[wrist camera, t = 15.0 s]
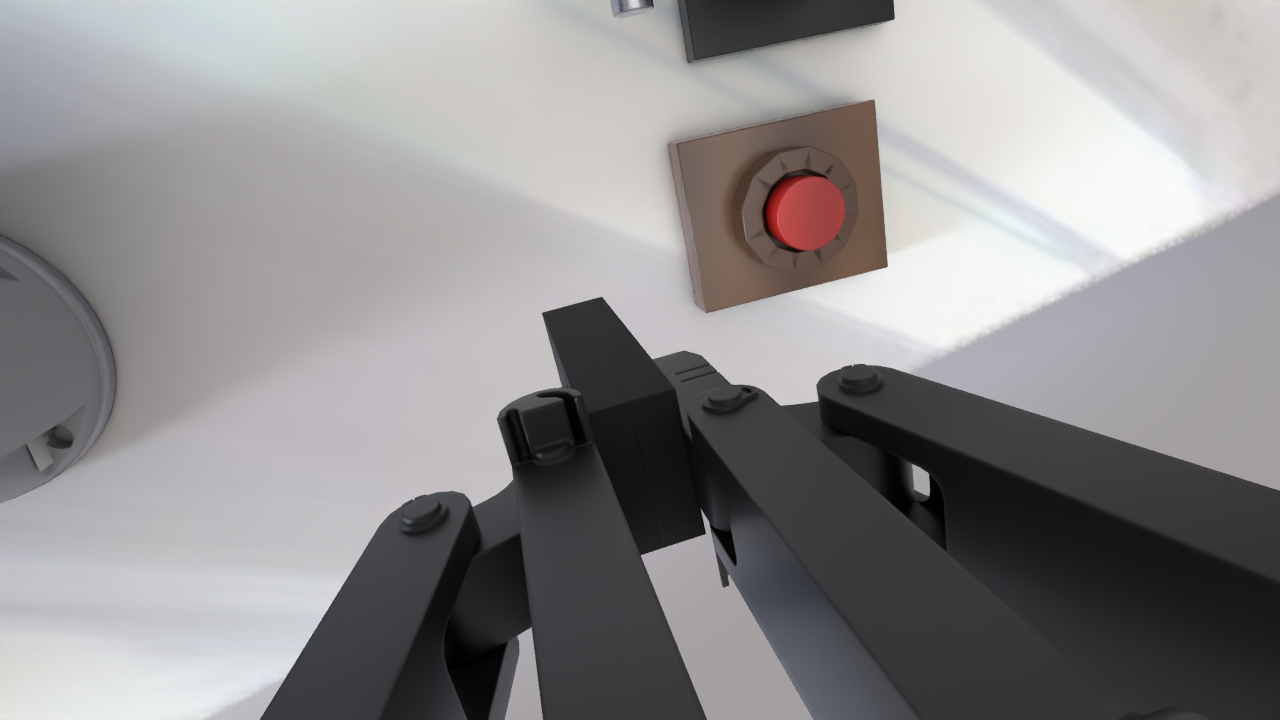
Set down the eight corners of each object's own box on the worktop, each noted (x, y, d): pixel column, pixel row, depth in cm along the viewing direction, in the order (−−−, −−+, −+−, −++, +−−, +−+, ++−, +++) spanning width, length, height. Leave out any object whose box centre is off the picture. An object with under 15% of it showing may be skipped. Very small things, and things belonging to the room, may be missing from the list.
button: (770, 253, 40) (782, 258, 38) (760, 183, 38) (772, 185, 37) (834, 237, 40) (849, 241, 38) (827, 168, 39) (842, 169, 37)
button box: (696, 305, 43) (715, 320, 40) (667, 143, 40) (684, 143, 36) (870, 261, 45) (904, 272, 41) (856, 101, 42) (892, 97, 38)
